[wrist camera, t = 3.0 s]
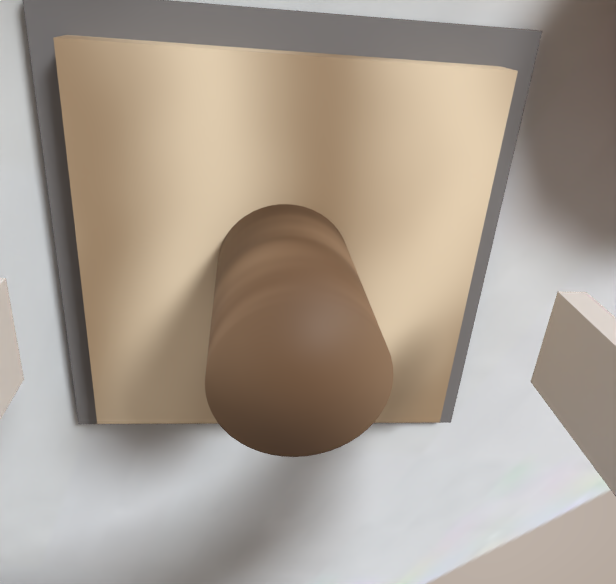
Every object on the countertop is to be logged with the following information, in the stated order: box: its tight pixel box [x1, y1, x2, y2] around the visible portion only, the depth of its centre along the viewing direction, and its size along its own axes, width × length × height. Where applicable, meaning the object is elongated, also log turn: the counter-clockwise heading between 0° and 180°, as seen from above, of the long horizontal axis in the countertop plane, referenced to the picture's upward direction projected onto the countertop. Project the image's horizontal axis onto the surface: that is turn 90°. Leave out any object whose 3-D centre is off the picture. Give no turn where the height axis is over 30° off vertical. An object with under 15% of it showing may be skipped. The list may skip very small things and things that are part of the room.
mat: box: [23, 0, 542, 424], centre depth 19 cm, size 14×14×1 cm
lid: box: [53, 35, 518, 457], centre depth 15 cm, size 12×12×7 cm
